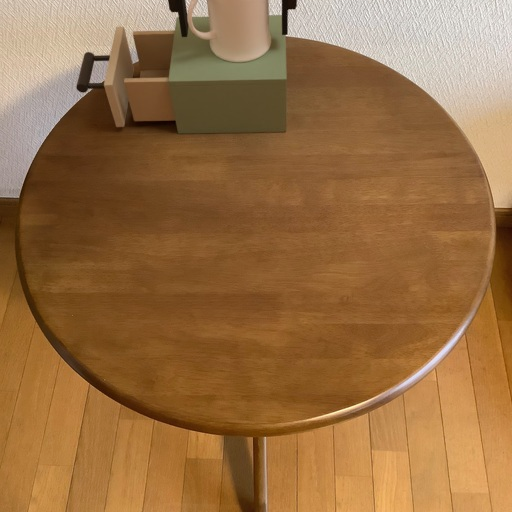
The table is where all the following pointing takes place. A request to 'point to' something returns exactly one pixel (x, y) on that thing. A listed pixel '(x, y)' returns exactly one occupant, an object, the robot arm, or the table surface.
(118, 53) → the drawer
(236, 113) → the cabinet
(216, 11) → the mug
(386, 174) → the table surface
